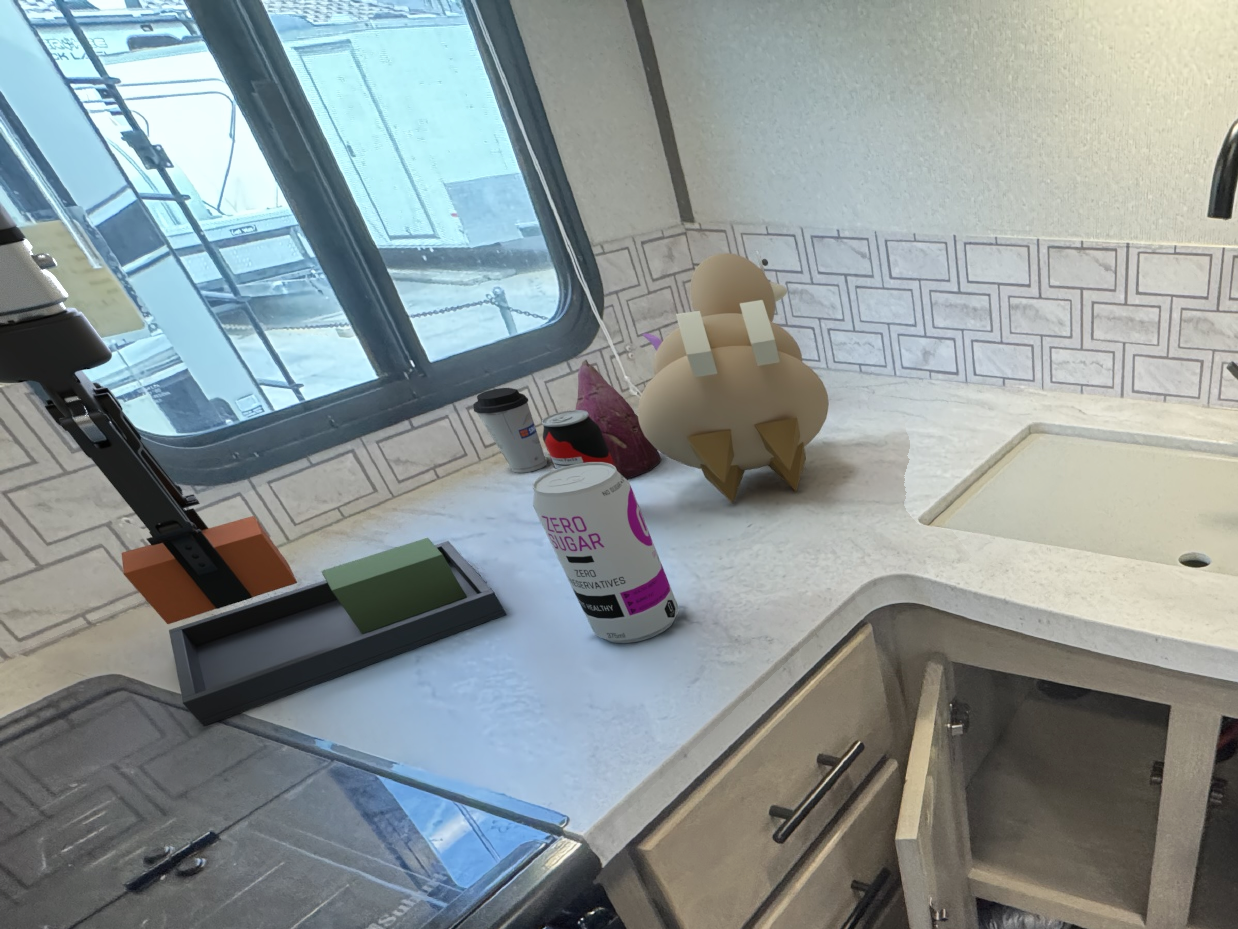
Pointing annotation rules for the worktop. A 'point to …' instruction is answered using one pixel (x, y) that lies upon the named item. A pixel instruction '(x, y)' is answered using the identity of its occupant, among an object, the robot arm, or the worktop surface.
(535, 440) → the coffee cup
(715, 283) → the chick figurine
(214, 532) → the orange block
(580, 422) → the beverage can
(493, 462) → the worktop surface
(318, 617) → the backing tray
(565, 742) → the worktop surface
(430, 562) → the green block
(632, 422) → the vegetable
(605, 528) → the supplement can
